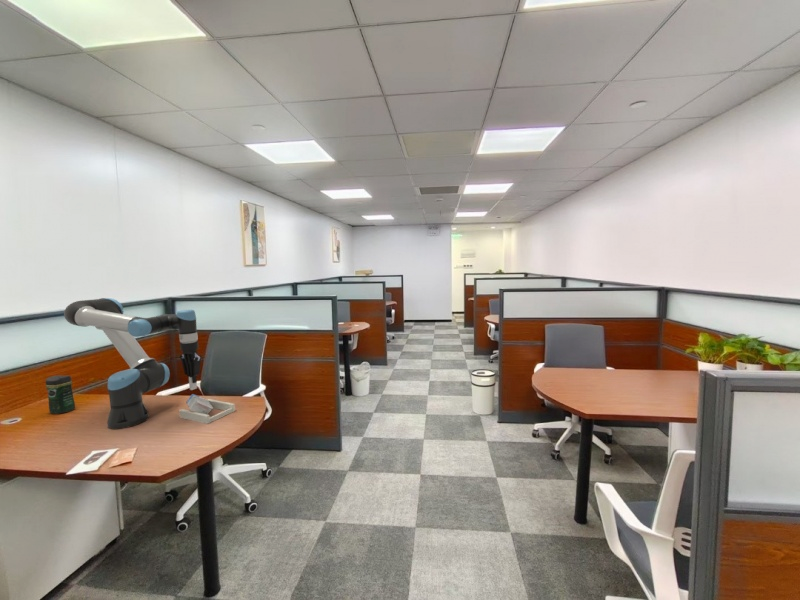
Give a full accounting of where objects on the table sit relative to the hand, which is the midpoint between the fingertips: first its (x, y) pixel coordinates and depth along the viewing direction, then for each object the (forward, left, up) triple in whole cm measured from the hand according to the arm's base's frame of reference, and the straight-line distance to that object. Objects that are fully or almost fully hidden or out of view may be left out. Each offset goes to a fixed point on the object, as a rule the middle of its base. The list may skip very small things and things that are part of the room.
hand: (193, 389), depth 167 cm
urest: (+8, 0, -11) cm, 14 cm away
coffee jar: (-68, -24, -12) cm, 73 cm away
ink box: (-1, +2, -7) cm, 7 cm away
